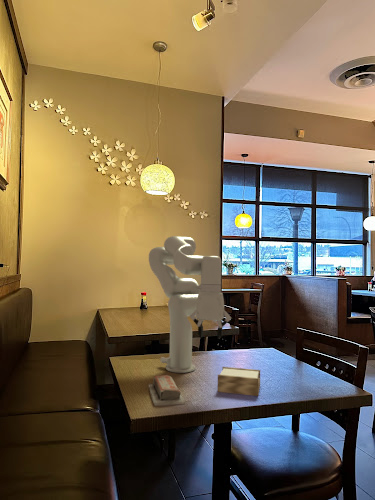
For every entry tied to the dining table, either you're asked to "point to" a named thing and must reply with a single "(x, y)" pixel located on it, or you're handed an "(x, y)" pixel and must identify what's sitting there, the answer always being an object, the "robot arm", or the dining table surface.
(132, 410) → the dining table surface
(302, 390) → the dining table surface
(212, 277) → the robot arm
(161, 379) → the packaged product
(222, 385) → the box
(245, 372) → the cover plate
